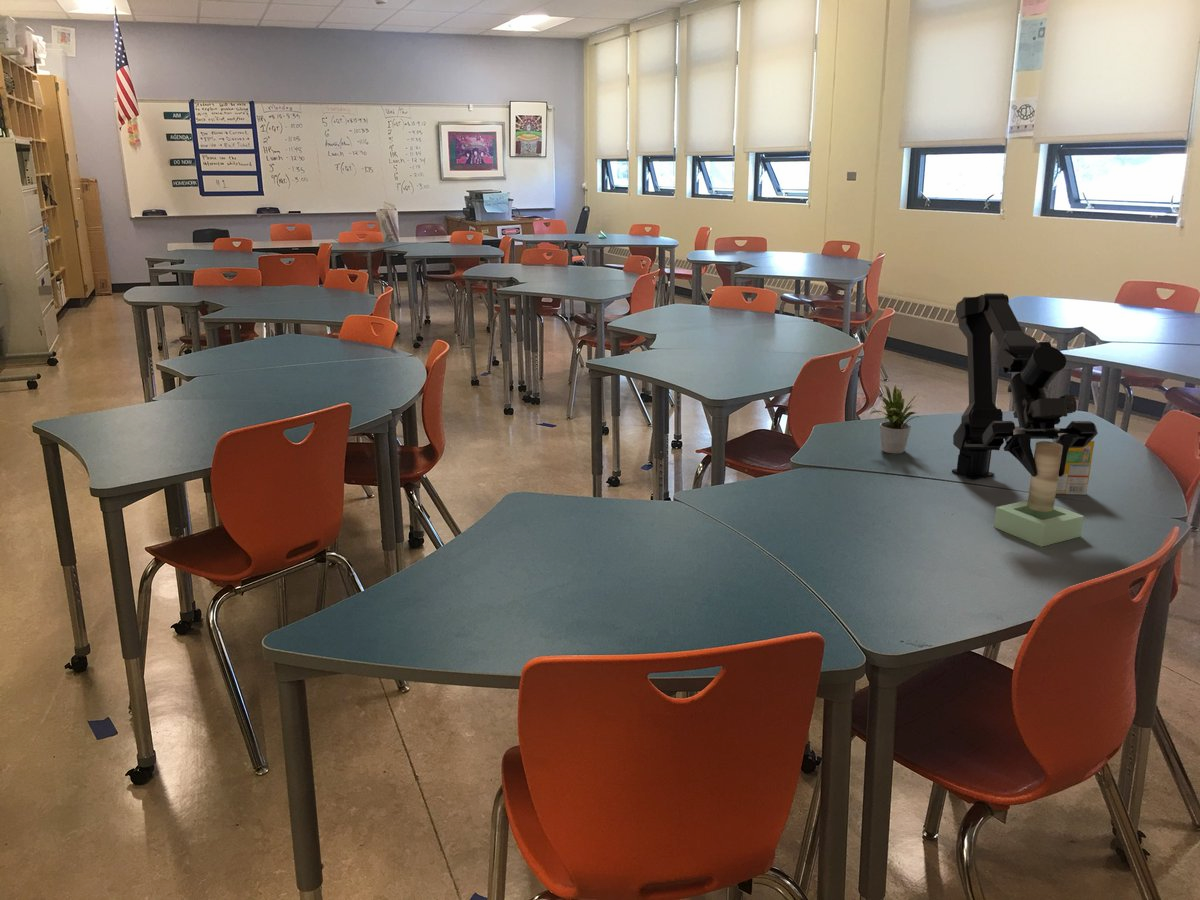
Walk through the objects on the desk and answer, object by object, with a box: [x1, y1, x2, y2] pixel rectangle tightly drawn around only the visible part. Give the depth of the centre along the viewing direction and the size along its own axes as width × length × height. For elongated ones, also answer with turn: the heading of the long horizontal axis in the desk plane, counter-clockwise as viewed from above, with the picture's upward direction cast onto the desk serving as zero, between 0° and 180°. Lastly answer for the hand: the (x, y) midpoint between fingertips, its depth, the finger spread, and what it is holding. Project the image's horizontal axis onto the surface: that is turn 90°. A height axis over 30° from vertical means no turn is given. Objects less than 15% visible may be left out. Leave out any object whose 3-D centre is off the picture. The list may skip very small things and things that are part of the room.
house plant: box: [866, 383, 926, 454], centre depth 215 cm, size 14×14×16 cm
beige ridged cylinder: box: [1027, 440, 1063, 512], centre depth 164 cm, size 4×4×12 cm
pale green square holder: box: [993, 499, 1085, 547], centre depth 167 cm, size 10×10×4 cm
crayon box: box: [1056, 440, 1095, 496], centre depth 186 cm, size 7×3×12 cm, turn 84°
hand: (1048, 475), depth 163 cm, fingers closed on beige ridged cylinder, 4 cm apart
